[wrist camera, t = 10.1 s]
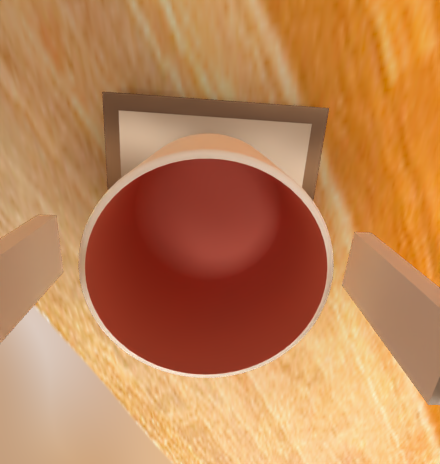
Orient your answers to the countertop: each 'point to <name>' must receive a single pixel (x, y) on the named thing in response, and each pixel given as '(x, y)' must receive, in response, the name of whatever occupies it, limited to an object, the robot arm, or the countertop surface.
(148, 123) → the stand
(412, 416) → the countertop surface
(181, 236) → the cup
